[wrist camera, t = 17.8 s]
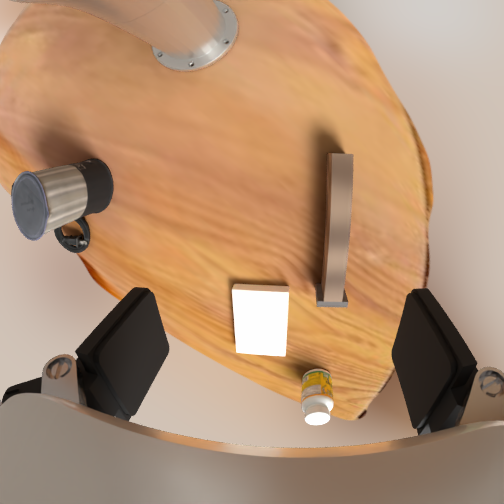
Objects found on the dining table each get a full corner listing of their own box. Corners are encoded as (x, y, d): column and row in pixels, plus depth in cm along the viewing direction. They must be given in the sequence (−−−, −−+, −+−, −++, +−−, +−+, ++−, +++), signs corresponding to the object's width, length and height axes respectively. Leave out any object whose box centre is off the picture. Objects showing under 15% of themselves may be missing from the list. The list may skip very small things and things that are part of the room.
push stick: (320, 152, 32) (324, 152, 27) (351, 154, 31) (360, 154, 27) (315, 288, 38) (316, 306, 34) (342, 289, 38) (347, 307, 33)
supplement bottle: (298, 371, 45) (296, 413, 36) (328, 364, 43) (330, 406, 34) (306, 389, 46) (304, 429, 37) (334, 383, 45) (336, 423, 36)
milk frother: (112, 153, 36) (40, 164, 22) (125, 249, 41) (66, 290, 28) (57, 168, 38) (-6, 183, 25) (70, 249, 44) (16, 281, 30)
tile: (231, 289, 39) (236, 352, 43) (288, 292, 37) (285, 356, 42) (235, 282, 41) (239, 344, 45) (289, 285, 39) (286, 347, 44)
